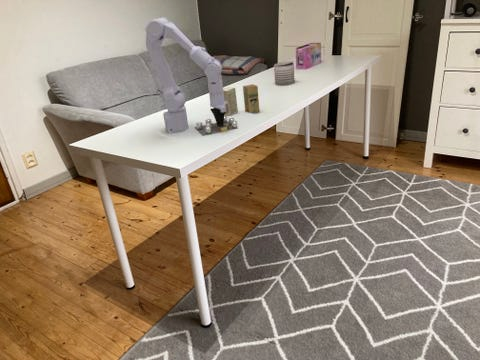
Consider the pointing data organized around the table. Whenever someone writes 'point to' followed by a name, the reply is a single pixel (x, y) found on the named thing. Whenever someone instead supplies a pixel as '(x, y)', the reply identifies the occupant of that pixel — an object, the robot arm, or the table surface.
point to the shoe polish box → (251, 99)
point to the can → (284, 73)
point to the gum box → (308, 55)
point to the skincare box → (230, 101)
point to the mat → (214, 129)
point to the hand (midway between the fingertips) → (220, 125)
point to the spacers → (209, 124)
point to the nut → (223, 127)
